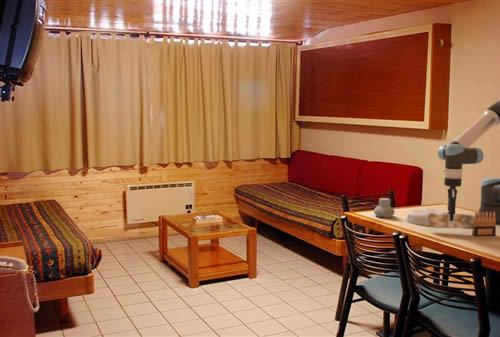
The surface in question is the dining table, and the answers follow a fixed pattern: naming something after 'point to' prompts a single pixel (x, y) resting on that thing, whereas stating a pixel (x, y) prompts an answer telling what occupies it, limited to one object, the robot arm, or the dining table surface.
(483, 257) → the dining table surface
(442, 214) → the mottled beige block
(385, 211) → the air freshener
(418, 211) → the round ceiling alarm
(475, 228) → the ammunition clip
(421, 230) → the dining table surface
